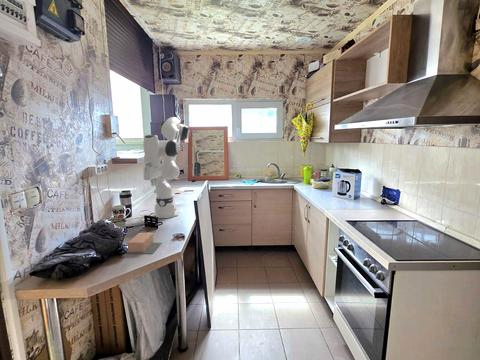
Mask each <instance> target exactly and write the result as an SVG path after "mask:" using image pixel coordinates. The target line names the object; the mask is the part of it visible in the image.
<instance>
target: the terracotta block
mask: <svg viewBox="0 0 480 360" xmlns="http://www.w3.org/2000/svg"><path fill="white" fill-rule="evenodd" d="M152 243H155V234H154V232H138V233H137V234H136V235H135V236H133V237H132V238H131V239H130V240H129V241H128V242H127V244H128V252H144V251H145V250H146V249H147V248H148V247H149V246H150V245H151V244H152Z"/></svg>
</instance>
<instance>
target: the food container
mask: <svg viewBox="0 0 480 360" xmlns="http://www.w3.org/2000/svg"><path fill="white" fill-rule="evenodd" d="M107 220H108V221H111V222H112V223H114V224H115V225H116V226H118V227H122V228H125V229H126V222H127V219H126V218H125V217H116V218H109V219H107Z"/></svg>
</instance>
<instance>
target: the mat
mask: <svg viewBox="0 0 480 360" xmlns="http://www.w3.org/2000/svg"><path fill="white" fill-rule="evenodd" d="M162 244H163V242H153V243H152V244H151V245H150V246H149V247H148V248H147V249H146V250H145V251H144V252H127V253H125V254H124V255H154V254H155V252H156V251H157V250H158V249H159V247H161V245H162ZM126 245H127V246H128V243H127V244H126Z"/></svg>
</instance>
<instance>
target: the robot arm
mask: <svg viewBox="0 0 480 360" xmlns="http://www.w3.org/2000/svg"><path fill="white" fill-rule="evenodd" d="M190 131H191V130H190V127H189V126H187V125H185V124H182V123H181V121H180V120H179V118H178V117H175V116H171V117H169V118H168V119H166V120H163V121H162V122H161V123H160V125H159V132H160V133H161V135H162V136H163V137H164V138H165V139H166V140H159V137H158V135H157V134H145V136H144V137H143V145H142V146H143V147H142V148H143V152H144V156H143V160H144V161H143V162H144V167H143V180H144V181H150V183H151V185H150V186H152V187H155V193H156V198H155V201H156V203H155V205H154V213H153V214H152V216H153V217H155V216H156V217H155V218H157V217H158V218H157V219H169V218H170V219H171V218H173V217H178V216H179V214H178V213H180V210H179V209H177V205H176V203H175V202H174V196H173V191H172V189H173V188H172V186H171V184H169V183H168V182H167V180H174V179H177V178H178V177H179V176H180V172H181V171H180V167H178V165H177V163H176V159H177V156H178V154H179V152H180V151H179V150H180V146H181V145H180V143H181V142H183V141H184V140H187V139H188V137H189V136H190V133H191V132H190ZM161 159H162V160H161ZM163 161H164V162H163Z"/></svg>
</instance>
